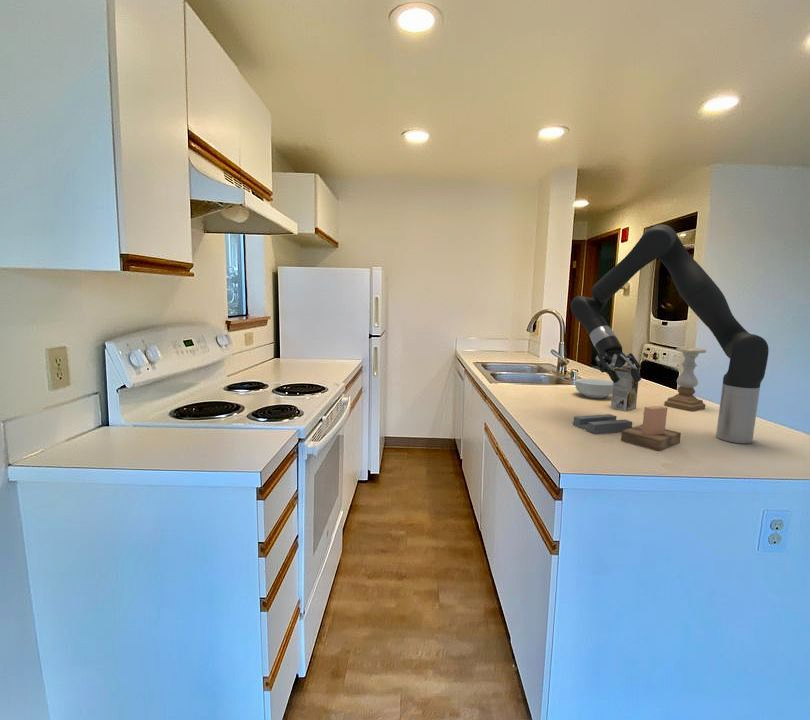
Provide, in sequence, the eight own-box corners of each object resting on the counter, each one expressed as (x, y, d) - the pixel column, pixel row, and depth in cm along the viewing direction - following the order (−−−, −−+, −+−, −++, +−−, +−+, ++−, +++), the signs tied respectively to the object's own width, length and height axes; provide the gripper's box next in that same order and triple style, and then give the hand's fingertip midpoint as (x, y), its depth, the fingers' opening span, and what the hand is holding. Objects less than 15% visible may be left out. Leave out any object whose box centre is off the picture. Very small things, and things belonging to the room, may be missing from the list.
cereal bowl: (607, 393, 203) (608, 378, 202) (621, 401, 187) (623, 385, 186) (569, 391, 205) (570, 376, 204) (580, 400, 188) (581, 383, 187)
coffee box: (620, 404, 181) (623, 366, 179) (636, 408, 176) (640, 368, 174) (609, 408, 175) (613, 368, 173) (626, 411, 170) (630, 370, 168)
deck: (642, 432, 143) (643, 423, 142) (679, 442, 134) (680, 432, 134) (620, 440, 134) (621, 431, 134) (658, 450, 126) (659, 440, 125)
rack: (608, 421, 155) (609, 413, 154) (632, 431, 144) (633, 422, 144) (572, 424, 150) (573, 416, 150) (594, 434, 140) (595, 425, 140)
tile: (657, 431, 134) (660, 405, 133) (664, 433, 132) (667, 407, 131) (641, 432, 133) (644, 406, 132) (648, 435, 130) (651, 408, 129)
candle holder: (677, 402, 187) (683, 347, 184) (705, 408, 178) (712, 350, 175) (663, 405, 181) (669, 348, 178) (691, 411, 172) (699, 351, 169)
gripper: (594, 335, 146) (616, 375, 136) (628, 334, 150) (653, 373, 140) (582, 349, 151) (603, 388, 142) (615, 348, 155) (638, 386, 146)
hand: (628, 381), depth 141 cm, fingers open, 8 cm apart
